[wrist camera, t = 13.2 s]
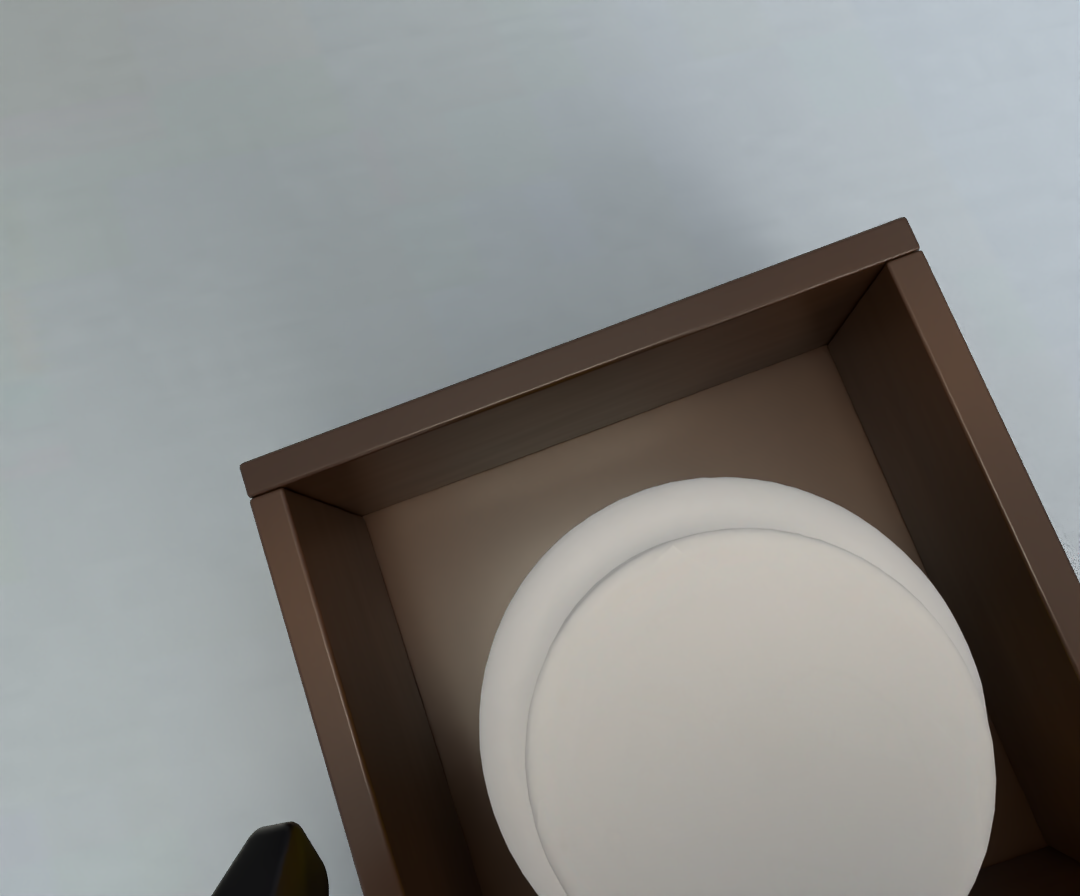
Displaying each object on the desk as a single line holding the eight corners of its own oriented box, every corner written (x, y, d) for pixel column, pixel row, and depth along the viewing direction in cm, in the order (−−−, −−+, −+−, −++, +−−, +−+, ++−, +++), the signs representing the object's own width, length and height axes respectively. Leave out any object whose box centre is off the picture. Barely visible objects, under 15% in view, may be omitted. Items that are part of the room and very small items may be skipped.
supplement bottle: (516, 795, 18) (364, 1028, 8) (570, 510, 19) (495, 386, 9) (812, 862, 17) (1071, 1216, 7) (854, 562, 18) (1137, 493, 8)
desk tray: (1072, 856, 17) (1260, 960, 12) (510, 1051, 18) (459, 1232, 12) (833, 320, 20) (906, 213, 14) (340, 503, 20) (236, 463, 15)
